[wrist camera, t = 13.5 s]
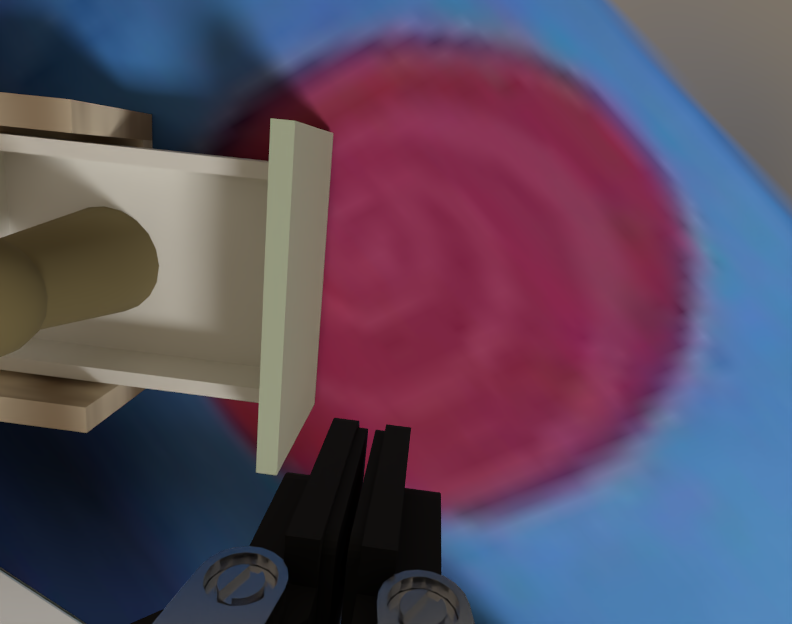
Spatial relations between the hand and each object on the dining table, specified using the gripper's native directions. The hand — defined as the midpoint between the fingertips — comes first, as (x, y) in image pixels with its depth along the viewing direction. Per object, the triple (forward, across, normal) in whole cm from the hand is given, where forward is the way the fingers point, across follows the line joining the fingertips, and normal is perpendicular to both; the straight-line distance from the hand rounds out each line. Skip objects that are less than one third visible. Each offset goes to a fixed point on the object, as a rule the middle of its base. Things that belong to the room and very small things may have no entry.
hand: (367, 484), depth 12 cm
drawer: (+21, +14, 0) cm, 25 cm away
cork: (+19, +17, 0) cm, 26 cm away
